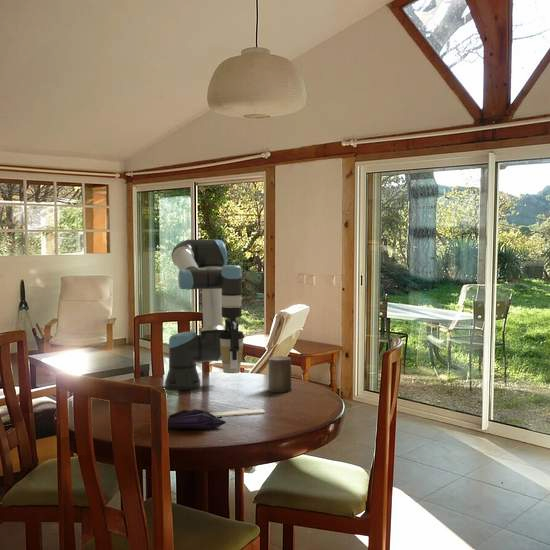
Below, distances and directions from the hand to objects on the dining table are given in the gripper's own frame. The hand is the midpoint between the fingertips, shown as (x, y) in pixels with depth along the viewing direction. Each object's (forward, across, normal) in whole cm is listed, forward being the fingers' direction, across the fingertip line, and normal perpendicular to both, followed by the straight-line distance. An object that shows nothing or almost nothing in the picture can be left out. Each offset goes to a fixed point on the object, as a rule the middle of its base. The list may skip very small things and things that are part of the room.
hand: (231, 365), depth 233 cm
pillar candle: (+16, +22, -25) cm, 37 cm away
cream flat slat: (+16, -10, +2) cm, 19 cm away
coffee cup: (+2, 0, 0) cm, 2 cm away
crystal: (+16, -24, +17) cm, 33 cm away
